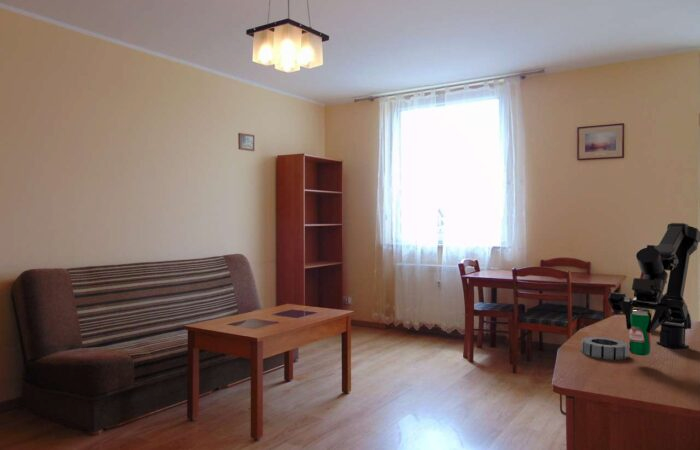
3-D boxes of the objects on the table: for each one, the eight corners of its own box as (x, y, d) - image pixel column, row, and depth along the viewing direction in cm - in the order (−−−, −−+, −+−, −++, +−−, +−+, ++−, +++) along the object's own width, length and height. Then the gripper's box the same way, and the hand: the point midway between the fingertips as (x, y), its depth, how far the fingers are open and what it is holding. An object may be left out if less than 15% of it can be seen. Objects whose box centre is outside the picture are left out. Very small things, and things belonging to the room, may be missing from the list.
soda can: (625, 352, 144) (626, 309, 143) (637, 350, 146) (638, 307, 145) (642, 357, 139) (643, 312, 139) (654, 354, 141) (655, 311, 141)
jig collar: (606, 347, 160) (606, 336, 160) (636, 358, 149) (637, 346, 149) (572, 349, 157) (573, 338, 157) (601, 360, 146) (601, 348, 146)
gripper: (611, 264, 151) (595, 307, 144) (685, 270, 137) (671, 318, 130) (620, 288, 157) (605, 331, 149) (692, 296, 143) (680, 343, 136)
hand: (638, 330), depth 141 cm, fingers closed on soda can, 5 cm apart
